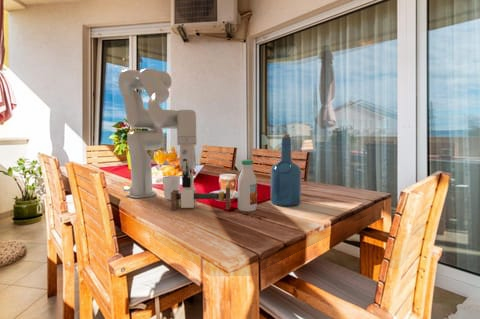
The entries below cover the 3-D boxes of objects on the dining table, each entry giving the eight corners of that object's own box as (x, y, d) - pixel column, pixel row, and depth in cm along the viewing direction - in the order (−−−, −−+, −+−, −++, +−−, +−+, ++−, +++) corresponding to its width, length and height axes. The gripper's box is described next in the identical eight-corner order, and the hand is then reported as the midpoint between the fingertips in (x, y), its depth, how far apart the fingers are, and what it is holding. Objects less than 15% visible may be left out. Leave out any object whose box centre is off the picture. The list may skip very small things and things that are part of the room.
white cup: (176, 200, 123) (175, 178, 121) (160, 199, 124) (159, 178, 123) (183, 196, 130) (182, 176, 129) (168, 195, 132) (167, 175, 131)
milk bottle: (243, 213, 103) (243, 161, 101) (234, 208, 110) (234, 159, 108) (260, 210, 107) (260, 160, 105) (250, 205, 114) (250, 158, 112)
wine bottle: (273, 198, 126) (274, 133, 123) (302, 200, 122) (304, 133, 119) (266, 205, 113) (267, 134, 110) (298, 208, 109) (300, 134, 106)
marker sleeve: (181, 207, 108) (180, 174, 106) (183, 204, 113) (182, 172, 111) (193, 207, 108) (192, 174, 106) (195, 203, 113) (195, 172, 112)
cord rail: (171, 210, 108) (170, 188, 107) (174, 206, 113) (173, 185, 112) (229, 209, 108) (229, 187, 107) (230, 206, 113) (230, 185, 112)
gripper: (192, 142, 99) (193, 190, 101) (199, 140, 116) (200, 181, 118) (172, 142, 99) (173, 190, 101) (182, 140, 116) (183, 181, 118)
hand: (188, 185), depth 109 cm, fingers open, 6 cm apart
